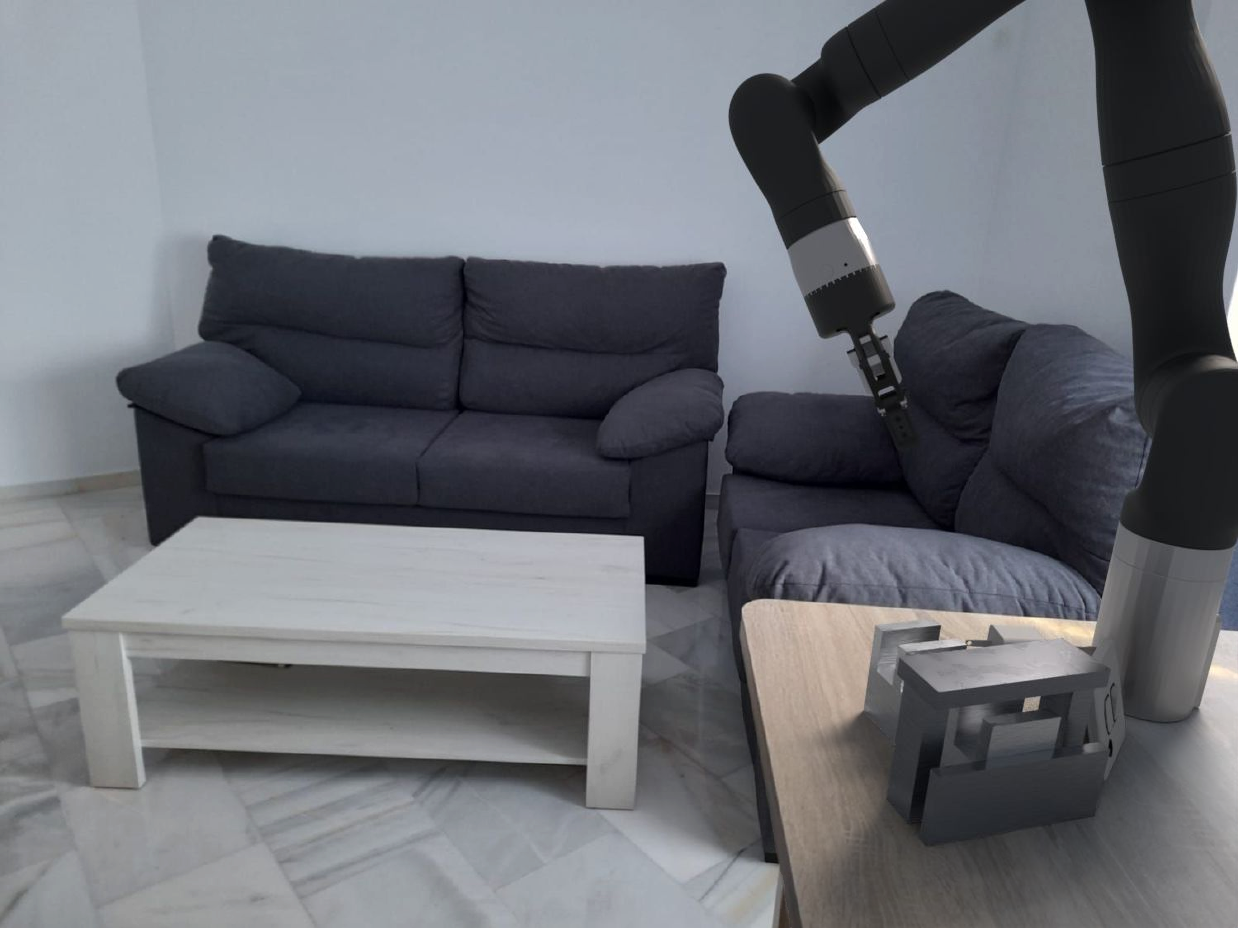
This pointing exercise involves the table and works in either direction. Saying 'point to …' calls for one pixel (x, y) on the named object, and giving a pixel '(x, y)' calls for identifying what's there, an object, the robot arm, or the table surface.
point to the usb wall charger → (1008, 635)
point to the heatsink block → (968, 727)
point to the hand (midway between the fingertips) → (909, 448)
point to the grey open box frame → (1005, 785)
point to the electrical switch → (1106, 705)
